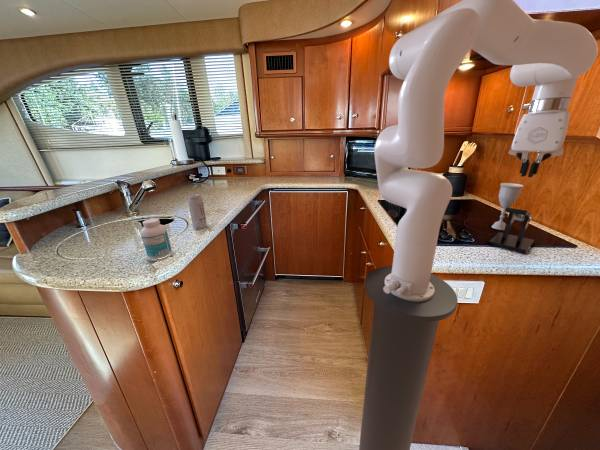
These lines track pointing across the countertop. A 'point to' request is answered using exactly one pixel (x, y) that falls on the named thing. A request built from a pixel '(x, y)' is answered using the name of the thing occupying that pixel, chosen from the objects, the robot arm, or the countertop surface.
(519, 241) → the bracket
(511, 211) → the lever
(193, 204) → the energy drink can
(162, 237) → the pill bottle
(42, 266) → the countertop surface
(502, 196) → the chalice
